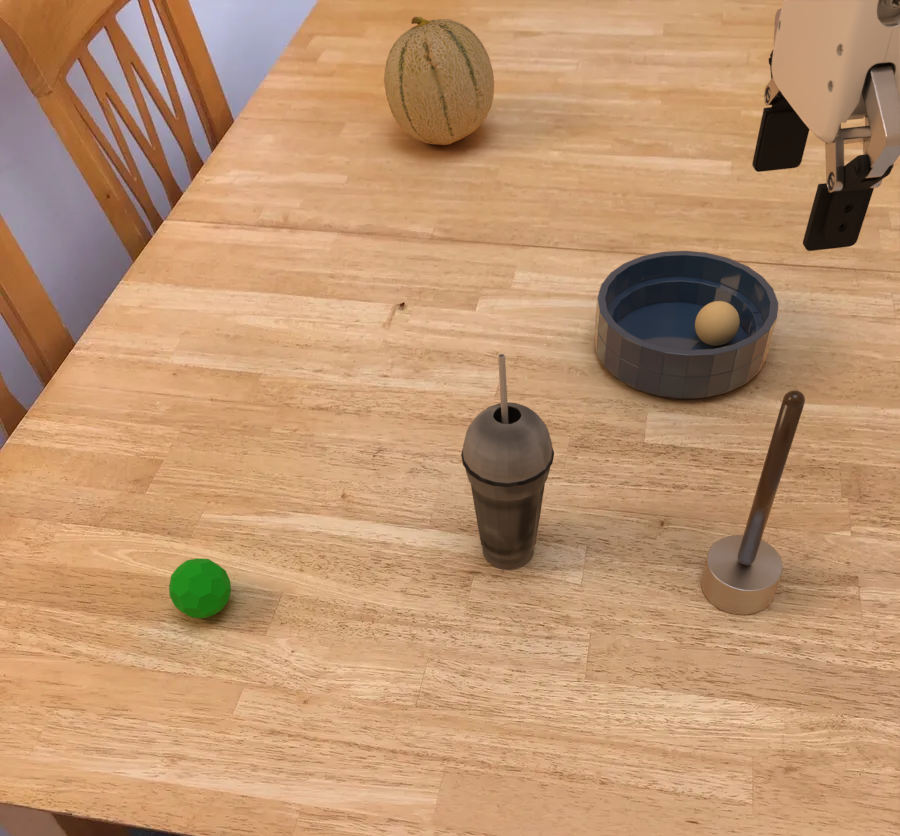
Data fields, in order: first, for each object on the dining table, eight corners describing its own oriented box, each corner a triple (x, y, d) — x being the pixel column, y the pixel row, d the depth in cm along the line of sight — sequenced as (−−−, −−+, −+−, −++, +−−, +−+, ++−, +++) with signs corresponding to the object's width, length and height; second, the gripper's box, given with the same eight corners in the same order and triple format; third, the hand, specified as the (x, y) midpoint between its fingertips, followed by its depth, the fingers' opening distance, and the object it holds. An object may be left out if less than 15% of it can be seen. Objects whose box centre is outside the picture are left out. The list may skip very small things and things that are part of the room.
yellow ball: (730, 327, 98) (738, 291, 94) (738, 353, 95) (747, 317, 91) (688, 329, 98) (695, 293, 94) (695, 355, 95) (702, 319, 92)
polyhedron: (248, 602, 79) (235, 566, 75) (203, 638, 77) (187, 603, 73) (211, 574, 81) (196, 538, 78) (167, 608, 79) (149, 573, 76)
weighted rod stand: (766, 558, 79) (830, 361, 63) (781, 613, 75) (854, 420, 59) (695, 560, 79) (741, 365, 63) (707, 616, 76) (760, 424, 59)
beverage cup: (481, 591, 79) (473, 408, 63) (456, 531, 83) (443, 346, 67) (561, 569, 80) (573, 384, 64) (533, 511, 84) (538, 324, 68)
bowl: (746, 296, 102) (757, 246, 97) (782, 400, 91) (796, 350, 87) (586, 304, 103) (590, 255, 98) (603, 408, 92) (607, 359, 87)
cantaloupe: (488, 166, 123) (485, 44, 111) (380, 163, 125) (366, 43, 113) (501, 114, 132) (500, -5, 120) (401, 112, 134) (390, -5, 122)
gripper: (1047, -72, 41) (914, 274, 54) (888, -174, 51) (810, 136, 65) (881, -55, 41) (788, 288, 54) (756, -161, 51) (705, 147, 65)
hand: (800, 205), depth 59 cm, fingers open, 9 cm apart
